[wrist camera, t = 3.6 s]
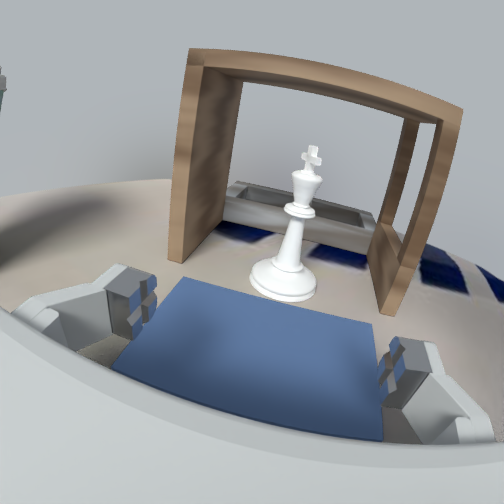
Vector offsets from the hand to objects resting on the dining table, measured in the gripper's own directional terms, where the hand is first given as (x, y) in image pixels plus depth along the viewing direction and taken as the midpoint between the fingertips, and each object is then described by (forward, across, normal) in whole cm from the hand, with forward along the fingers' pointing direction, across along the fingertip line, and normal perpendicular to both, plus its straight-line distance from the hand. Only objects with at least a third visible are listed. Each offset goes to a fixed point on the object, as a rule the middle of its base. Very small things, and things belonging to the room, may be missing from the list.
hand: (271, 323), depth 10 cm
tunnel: (+20, 0, +6) cm, 21 cm away
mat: (+4, 0, +6) cm, 7 cm away
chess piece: (+12, 0, +6) cm, 13 cm away
